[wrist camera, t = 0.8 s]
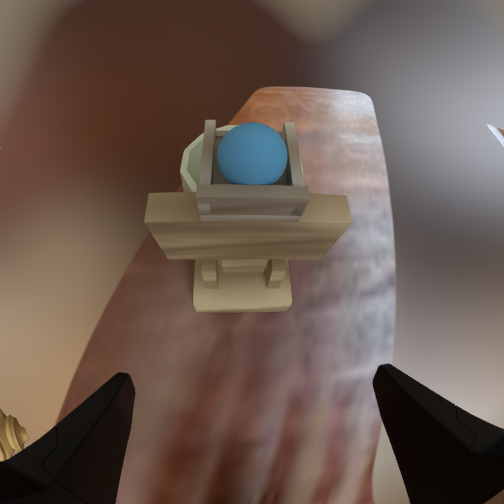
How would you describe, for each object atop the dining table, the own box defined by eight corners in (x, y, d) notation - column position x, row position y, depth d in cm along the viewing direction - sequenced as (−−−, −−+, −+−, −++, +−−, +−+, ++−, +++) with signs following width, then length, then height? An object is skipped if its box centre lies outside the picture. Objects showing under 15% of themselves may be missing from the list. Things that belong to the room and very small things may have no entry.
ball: (285, 205, 12) (298, 154, 9) (216, 204, 12) (213, 152, 9) (278, 160, 14) (287, 111, 11) (219, 158, 13) (218, 109, 11)
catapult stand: (286, 311, 24) (301, 287, 19) (196, 312, 24) (186, 288, 19) (282, 261, 27) (294, 227, 21) (199, 261, 26) (190, 227, 21)
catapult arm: (306, 274, 22) (369, 202, 11) (178, 274, 21) (130, 199, 10) (301, 217, 23) (346, 121, 13) (182, 216, 23) (151, 116, 12)
